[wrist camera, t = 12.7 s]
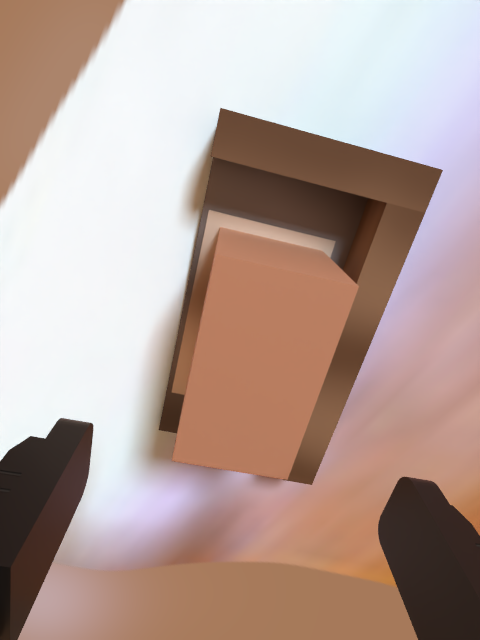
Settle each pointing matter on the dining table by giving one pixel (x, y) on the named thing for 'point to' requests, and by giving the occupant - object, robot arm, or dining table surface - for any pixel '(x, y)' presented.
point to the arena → (307, 241)
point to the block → (260, 353)
